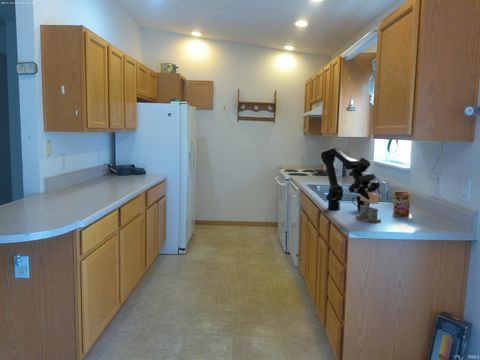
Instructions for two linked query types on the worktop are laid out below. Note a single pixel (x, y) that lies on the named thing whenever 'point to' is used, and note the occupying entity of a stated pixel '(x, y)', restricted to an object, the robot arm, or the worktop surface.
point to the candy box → (401, 204)
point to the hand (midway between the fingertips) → (370, 199)
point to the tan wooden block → (370, 198)
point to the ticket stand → (368, 214)
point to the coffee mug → (360, 202)
